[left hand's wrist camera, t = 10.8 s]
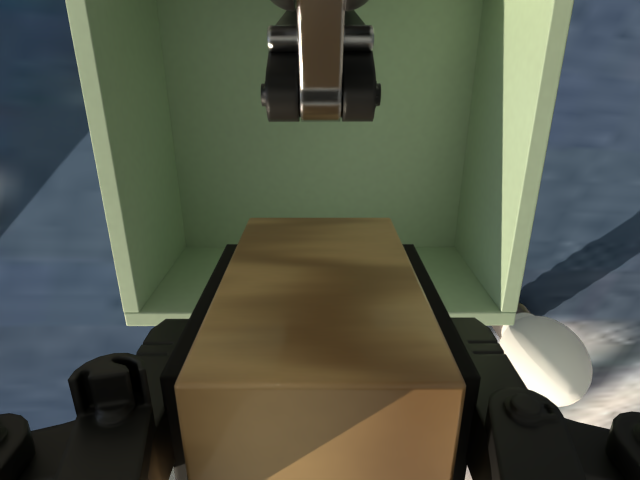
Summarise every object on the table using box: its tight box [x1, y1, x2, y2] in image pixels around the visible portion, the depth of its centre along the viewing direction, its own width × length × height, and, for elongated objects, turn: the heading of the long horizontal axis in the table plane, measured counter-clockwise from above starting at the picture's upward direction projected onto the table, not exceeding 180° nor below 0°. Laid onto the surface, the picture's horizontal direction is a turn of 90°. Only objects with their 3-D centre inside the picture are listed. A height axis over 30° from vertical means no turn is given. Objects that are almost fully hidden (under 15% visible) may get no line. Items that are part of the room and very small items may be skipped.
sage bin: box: [65, 0, 574, 326], centre depth 24 cm, size 20×18×10 cm
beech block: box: [174, 218, 466, 480], centre depth 11 cm, size 4×4×8 cm
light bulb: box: [492, 303, 592, 407], centre depth 40 cm, size 7×7×11 cm
